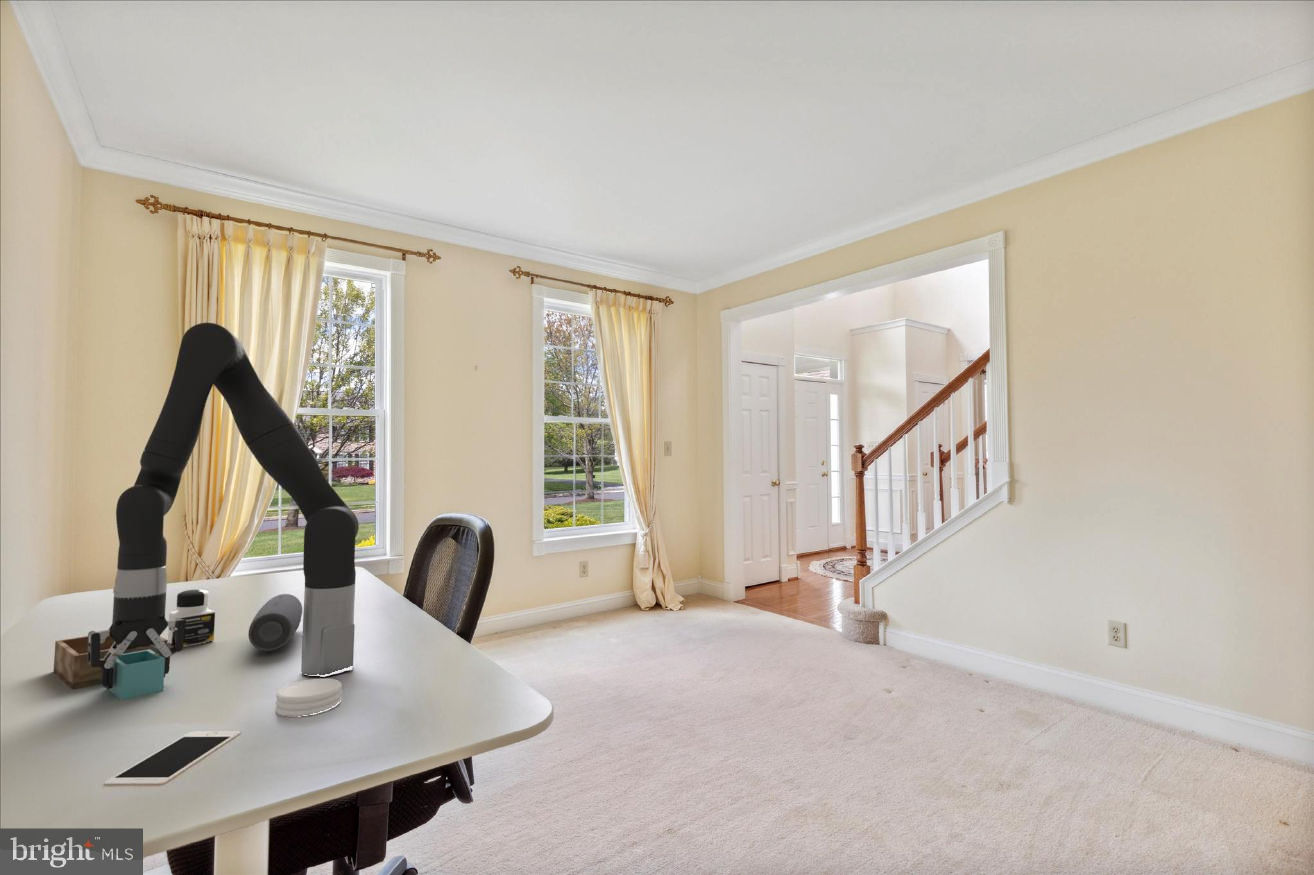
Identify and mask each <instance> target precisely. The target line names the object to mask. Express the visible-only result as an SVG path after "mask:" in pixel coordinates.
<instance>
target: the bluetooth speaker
mask: <svg viewBox="0 0 1314 875" xmlns="http://www.w3.org/2000/svg"><path fill="white" fill-rule="evenodd" d="M302 615H303V604H302V602H301V601H300V599H299V598H298V597H296V596H295V595H294V594H293V595H292V594H289V593H281V594H278V595H275V596H274V597H272V598H270V599H268V601H266V602H265V604H263V605H262V607H261V608H260V609H259V610H258V611H257V613H256V614H255V616H254V617H253V619H252V621H251V623H250V625H249V628H248V634H247V635H248V640H249V642H250V644H251V645H252V647H254V648H255V649H257V650H259V651H264V652H269V651H271V652H272V651H275V650H276V651H277V650H278V648H279V649H281V648H282V647H284V645H286V644H288V643H289V641H291V639H292V637H293V636H294V635H295V633H296V632H297V630H298V629H299V626H300V625H301V624H300V623H301V621H302V617H303V616H302ZM280 647H281V648H280Z"/></svg>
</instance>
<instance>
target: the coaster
mask: <svg viewBox="0 0 1314 875" xmlns="http://www.w3.org/2000/svg"><path fill="white" fill-rule="evenodd" d="M342 688H343V685H342V682H340V681H339V680H337V679H334V678H312V679H304V680H299V681H296V682H292V683H289V684H287V685H285V686H283V687H281V688H280V689H278V691H277V692H276V694H275V698H276V701H275V706H276V707H275V709H274V710H275V713H276V714H277V715H278V714H279V715H278V716H280V715H282V716H281V717H284V716H287V717H286V718H299V717H298V716H303V715H310V714H313V713H318V712H320V711H324V710H326V709H329V708H332V706H335V705H336V704H337V703H338V702H340V700H341V698H342V695H343V691H342ZM341 701H342V700H341Z"/></svg>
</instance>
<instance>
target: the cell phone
mask: <svg viewBox="0 0 1314 875" xmlns="http://www.w3.org/2000/svg"><path fill="white" fill-rule="evenodd" d="M241 734H242V731H237V730H236V731H234V730H232V731H231V730H229V731H227V730H226V731H223V730H222V731H215V730H213V731H211V730H210V731H205V730H204V731H201V730H200V731H197V730H196V731H190V732H188V733H186V734H184V735H182V736H180V737H179V738H178V739H176V740H174V741H172V742H170V743H169V744H167V745H166V746H164V747H162V748H160V749H159V750H157V751H155V752H153V753H152V754H150V755H149V756H147V757H145V758H144V759H142V760H139V761H138V762H136V763H134V764H133V765H131V766H130V767H128V768H126V769H125V770H122V771H121V772H119V773H117V774H116V775H113V776H112V777H110V778H109V779H108V780H106V781H104V782H103V785H104V786H162V785H165V784H167V783H169V782H170V781H172V780H173V779H175V778H176V777H177V776H180V775H181V774H183V773H184V772H185V771H187V770H188V769H190V768H191V767H192V766H194V765H196V764H197V763H199V762H201V761H202V760H203V759H205V758H207V757H208V756H209V755H211V754H212V753H214V752H215V751H217V750H219V749H220V748H221V747H223V746H224V745H226V744H228V743H229V742H231V741H232V740H233V739H235V738H236V737H238V736H239V735H241Z"/></svg>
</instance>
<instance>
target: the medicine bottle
mask: <svg viewBox="0 0 1314 875" xmlns="http://www.w3.org/2000/svg"><path fill="white" fill-rule="evenodd" d="M209 599H210V591H209V590H207V589H206V590H205V589H199V588H198V589H188V590H183V591H181V592H179V593H177V595H176V609H175V611H174V610H173V611H170V612H169V614H168V621H170V620H175V619H177V618H180V619H182V620H184V621H185V632H184V642H183V648H185V647H191V646H196V645H197V644H198V645H202V644H201V643H203V644H207V643H206V642H209V641H213V642H214V641H215V626H216V625H215V623H216V611H214V610H211V609H209V608H208V607H209V602H210V600H209ZM167 632H168V634H167V640H168V644H170V645H171V644H172V634H173V631H171V630H170V629H169V628H168V631H167ZM209 643H210V642H209Z"/></svg>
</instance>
